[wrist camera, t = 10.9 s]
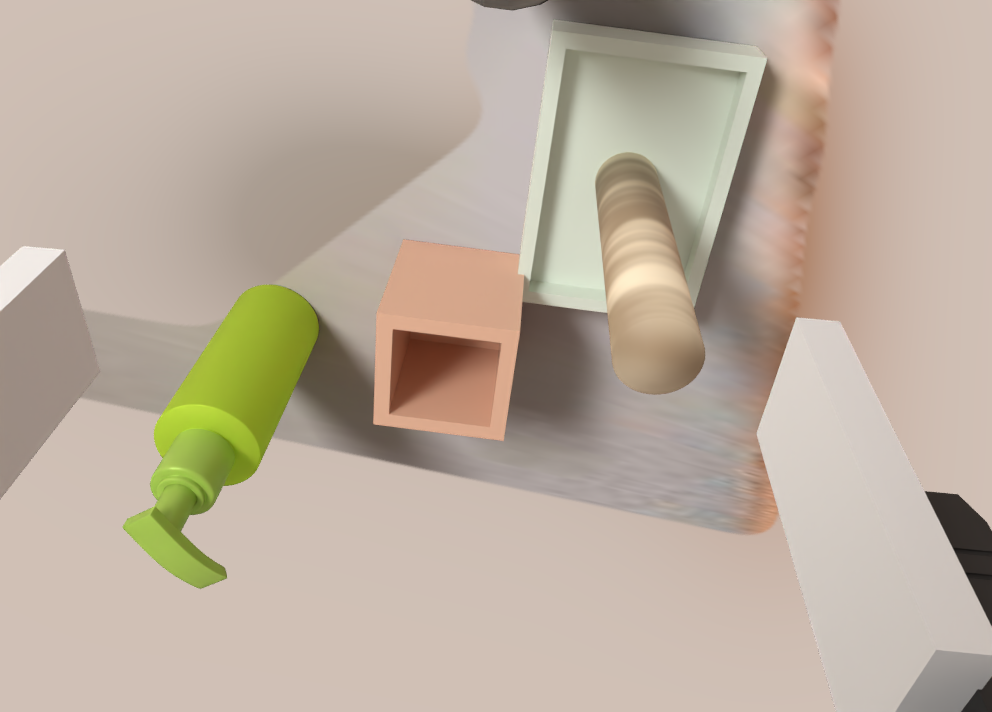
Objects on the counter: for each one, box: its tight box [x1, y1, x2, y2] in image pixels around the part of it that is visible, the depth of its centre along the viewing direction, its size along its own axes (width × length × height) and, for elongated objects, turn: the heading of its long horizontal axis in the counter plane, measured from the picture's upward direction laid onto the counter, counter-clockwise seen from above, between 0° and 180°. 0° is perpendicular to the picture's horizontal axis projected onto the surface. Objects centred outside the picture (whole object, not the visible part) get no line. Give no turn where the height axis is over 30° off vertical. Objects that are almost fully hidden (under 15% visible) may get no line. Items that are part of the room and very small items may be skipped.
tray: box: [518, 19, 767, 313], centre depth 46 cm, size 16×11×3 cm
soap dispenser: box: [123, 285, 319, 589], centre depth 47 cm, size 6×7×20 cm
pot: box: [373, 239, 524, 441], centre depth 49 cm, size 8×8×9 cm
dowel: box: [595, 152, 705, 394], centre depth 39 cm, size 4×4×18 cm
